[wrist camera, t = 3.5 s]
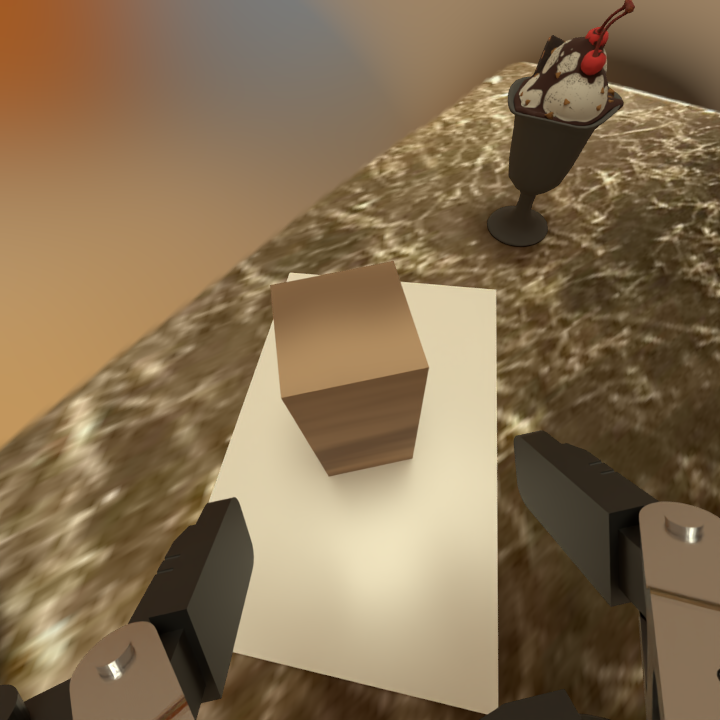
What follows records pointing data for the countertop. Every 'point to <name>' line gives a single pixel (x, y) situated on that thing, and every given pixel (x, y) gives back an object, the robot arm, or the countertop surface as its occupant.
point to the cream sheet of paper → (381, 526)
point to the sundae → (554, 125)
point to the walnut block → (350, 366)
